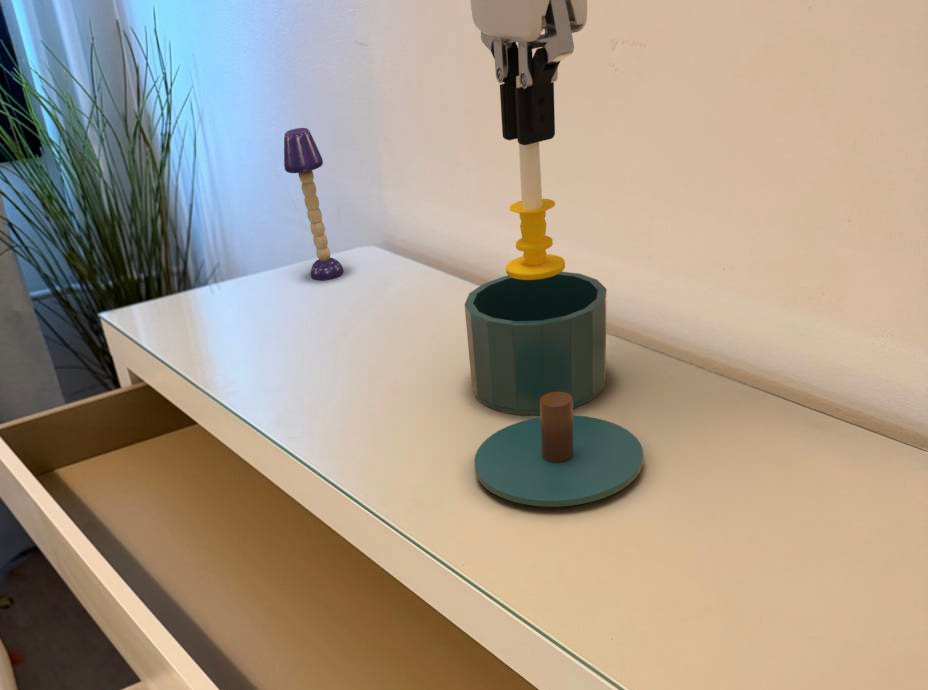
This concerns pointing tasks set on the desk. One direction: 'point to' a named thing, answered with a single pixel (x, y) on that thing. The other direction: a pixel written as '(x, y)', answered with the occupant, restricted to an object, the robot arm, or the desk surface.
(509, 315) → the tin
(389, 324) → the desk surface
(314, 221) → the toy lamp
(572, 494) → the lid
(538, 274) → the candle
